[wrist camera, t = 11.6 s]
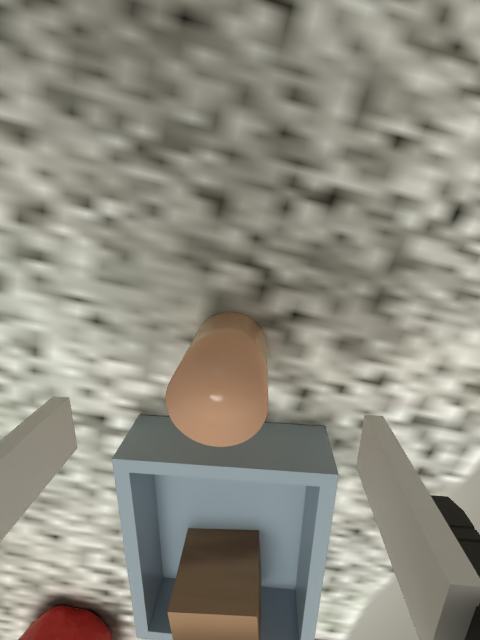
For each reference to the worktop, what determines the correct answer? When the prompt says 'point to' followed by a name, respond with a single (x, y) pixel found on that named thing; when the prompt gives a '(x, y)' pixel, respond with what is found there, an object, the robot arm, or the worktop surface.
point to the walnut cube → (217, 586)
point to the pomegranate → (67, 626)
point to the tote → (227, 515)
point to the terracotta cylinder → (221, 382)
